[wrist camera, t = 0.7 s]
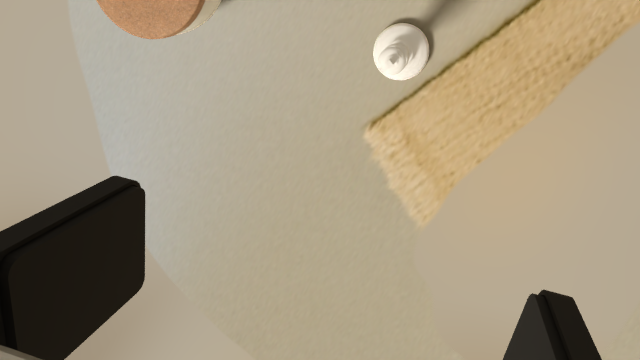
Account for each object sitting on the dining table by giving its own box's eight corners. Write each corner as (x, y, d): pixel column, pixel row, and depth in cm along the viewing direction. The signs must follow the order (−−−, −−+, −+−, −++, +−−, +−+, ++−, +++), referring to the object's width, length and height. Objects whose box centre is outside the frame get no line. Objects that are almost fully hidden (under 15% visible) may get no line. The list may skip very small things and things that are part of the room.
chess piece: (362, 50, 41) (339, 61, 32) (404, 10, 39) (393, 10, 30) (397, 91, 41) (384, 114, 32) (441, 54, 39) (440, 67, 30)
